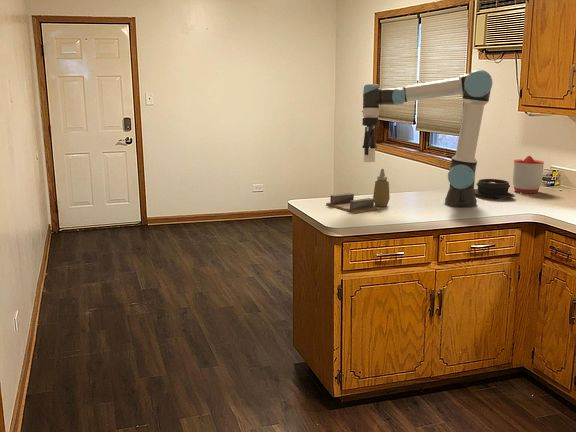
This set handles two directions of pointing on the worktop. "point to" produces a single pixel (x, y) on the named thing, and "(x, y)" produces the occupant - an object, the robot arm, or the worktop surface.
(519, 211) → the worktop surface
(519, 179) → the citrus juicer
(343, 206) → the end cap board
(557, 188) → the worktop surface
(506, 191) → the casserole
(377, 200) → the squeeze bottle
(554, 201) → the worktop surface
